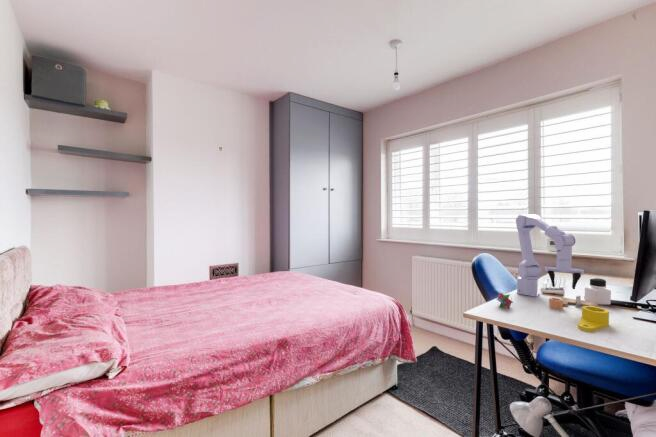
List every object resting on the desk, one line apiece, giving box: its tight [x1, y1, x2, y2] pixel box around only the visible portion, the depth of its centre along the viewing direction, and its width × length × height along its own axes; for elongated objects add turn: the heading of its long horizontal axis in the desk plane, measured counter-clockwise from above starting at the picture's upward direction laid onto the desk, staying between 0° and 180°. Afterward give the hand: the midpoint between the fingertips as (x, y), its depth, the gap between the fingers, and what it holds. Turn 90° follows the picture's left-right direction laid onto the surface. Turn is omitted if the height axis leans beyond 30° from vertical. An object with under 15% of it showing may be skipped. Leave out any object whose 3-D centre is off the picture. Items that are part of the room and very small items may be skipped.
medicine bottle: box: [584, 277, 612, 305], centre depth 152 cm, size 7×7×12 cm
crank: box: [577, 306, 610, 333], centre depth 123 cm, size 18×8×6 cm, turn 125°
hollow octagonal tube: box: [548, 297, 564, 310], centre depth 145 cm, size 5×5×4 cm
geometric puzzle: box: [496, 292, 514, 309], centre depth 146 cm, size 7×7×8 cm
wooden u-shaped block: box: [560, 296, 599, 307], centre depth 148 cm, size 14×12×1 cm
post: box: [573, 295, 583, 309], centre depth 145 cm, size 3×3×6 cm
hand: (563, 287), depth 145 cm, fingers open, 7 cm apart
